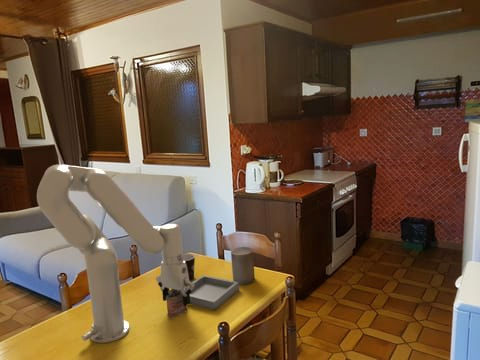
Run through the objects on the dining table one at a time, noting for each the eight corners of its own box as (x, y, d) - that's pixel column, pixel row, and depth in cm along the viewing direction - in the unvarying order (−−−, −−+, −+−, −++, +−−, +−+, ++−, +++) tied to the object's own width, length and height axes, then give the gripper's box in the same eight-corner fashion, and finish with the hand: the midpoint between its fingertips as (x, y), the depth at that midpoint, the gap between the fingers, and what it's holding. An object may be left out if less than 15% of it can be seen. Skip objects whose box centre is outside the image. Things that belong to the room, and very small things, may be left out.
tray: (214, 310, 134) (214, 302, 134) (177, 301, 144) (176, 292, 143) (239, 290, 150) (238, 282, 149) (203, 282, 159) (203, 274, 158)
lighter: (170, 318, 131) (168, 293, 129) (165, 315, 133) (163, 290, 132) (189, 310, 136) (187, 285, 134) (184, 307, 138) (182, 282, 137)
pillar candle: (256, 275, 163) (253, 243, 160) (253, 285, 153) (251, 251, 151) (234, 275, 164) (232, 244, 162) (231, 285, 155) (228, 251, 152)
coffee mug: (186, 272, 170) (185, 252, 168) (200, 276, 165) (198, 255, 163) (168, 282, 161) (166, 261, 159) (182, 286, 156) (180, 264, 154)
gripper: (197, 258, 130) (201, 302, 133) (161, 251, 139) (165, 293, 141) (184, 265, 124) (188, 312, 126) (147, 258, 132) (152, 301, 135)
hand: (176, 302), depth 134 cm, fingers open, 9 cm apart
